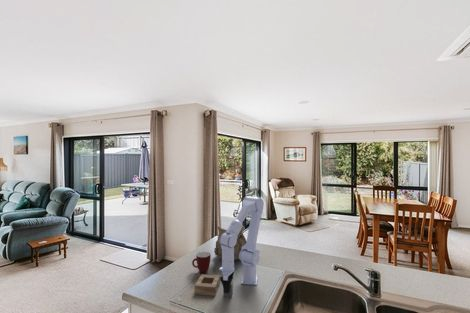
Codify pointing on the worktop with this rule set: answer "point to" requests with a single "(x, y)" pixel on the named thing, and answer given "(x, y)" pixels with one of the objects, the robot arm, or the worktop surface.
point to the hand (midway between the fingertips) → (228, 288)
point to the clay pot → (237, 248)
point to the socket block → (207, 285)
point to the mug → (202, 261)
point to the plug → (229, 291)
